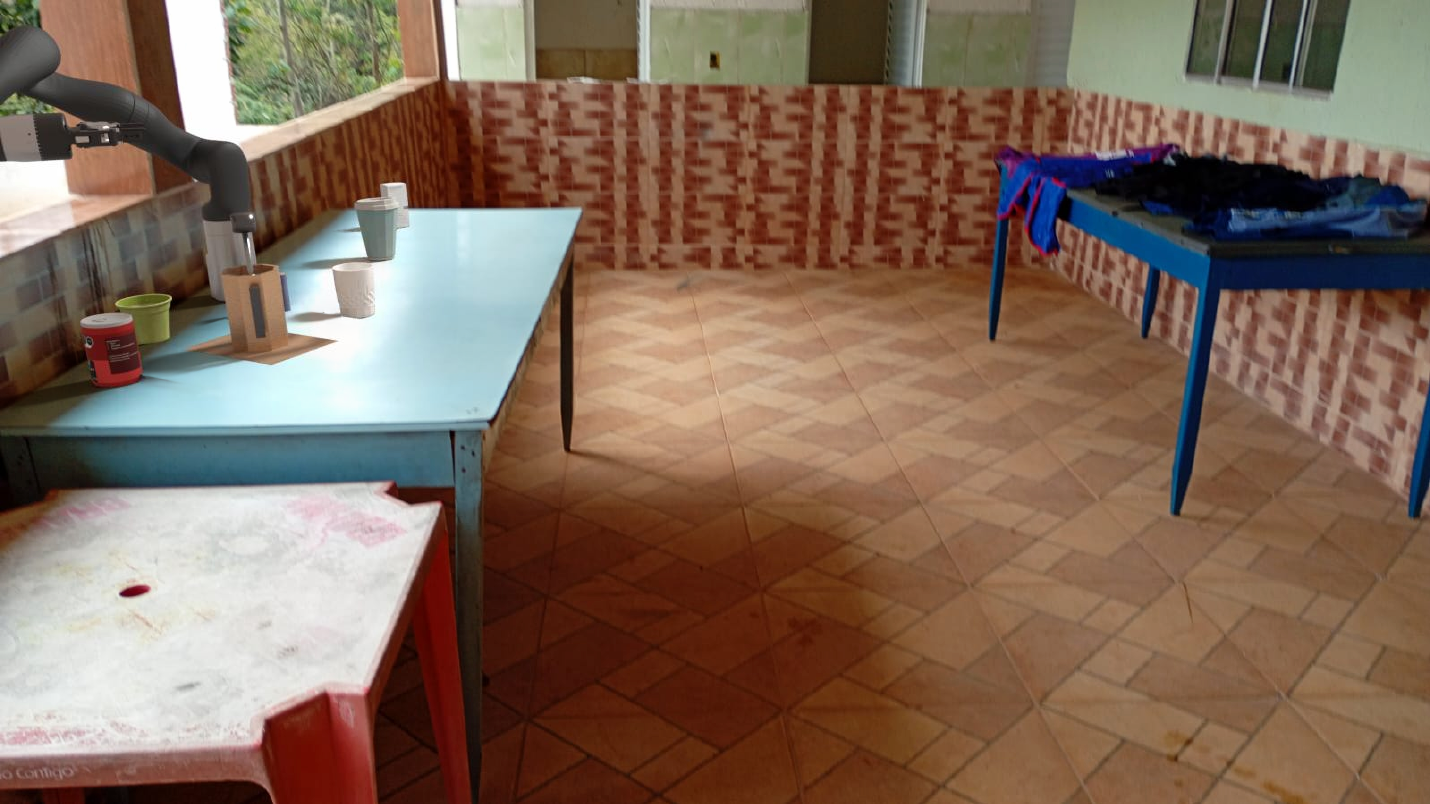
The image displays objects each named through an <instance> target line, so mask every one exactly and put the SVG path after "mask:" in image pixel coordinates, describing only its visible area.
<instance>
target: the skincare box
mask: <svg viewBox="0 0 1430 804" xmlns="http://www.w3.org/2000/svg"><path fill="white" fill-rule="evenodd" d="M379 187H380V188H379V189H380V197H396V201H397V202H398V203H399V206H400V207H398V218H397V229H400V228H401V229H402V228H408V227H410V226H411V223H410V215H409V213H410V212H409V204H408V191H407V184H406V183H404V182H399V181H398V182H388V183H380V184H379Z"/></svg>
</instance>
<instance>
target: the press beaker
mask: <svg viewBox="0 0 1430 804" xmlns="http://www.w3.org/2000/svg"><path fill="white" fill-rule="evenodd" d="M253 271H254V274H252V275H248V271H247V265H239V266H235V267H231V268H227V269H223V271H222V274H221V276H222V282H223V288H224V295H225V301H224V302H225V306H226V312H227V313H226V314H227V319H228V325H229V331H230V333H229V334H231V339H232V346H233V350H234V351H240V352H246V353H255V352H265V351H273V350H276V349H279V348H282V347H285V346H287V345H288V344H289V337H288V333H289V331H288V325H287V318H286V312H285V309H284V302H283V294H282V287H281V280H280V273H279V272H280V267H279V265H277V264H268V263H256V264H253Z"/></svg>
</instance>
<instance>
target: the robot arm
mask: <svg viewBox="0 0 1430 804" xmlns="http://www.w3.org/2000/svg"><path fill="white" fill-rule="evenodd" d="M61 59H62V53H61V51H60V48H59V45H58V43H57V42H56V40H55V39H54V37H52V36H51V35H50V33H48V32H47V31H46V30H44V29H42V28H41V27H38V26H36V25H31V24H22V25H18V26H14V27H13V28H11V29H9V30H8V31H6V32H4V33H3V34H1V35H0V106H2V104H4V103H5V102H6V101H7V100H9V99H10V98H11V97H12V96H13V95H15V94H16V93H17V94H19V95H22V96H25V97H27V98H30V99H32V100H35V101H37V102H40V103H42V104H45V105H48V106H50V107H53V108H55V109H58V110H60V111H62V112H43V113H40V112H39V113H20V114H19V113H18V114H8V115H3V116H0V163H4V162H5V163H6V162H17V163H31V162H48V161H53V162H54V161H64V160H65V161H67V160H68V161H69V160H72V158H73V153H74V152H73V147H72V145H73V146H74V145H75V146H76V148H78V149H94V148H108V147H116V146H120V145H123V144H124V143H125V144H129V145H130V146H133V147H135V148H138V149H140V150H142V151H143V152H147V153H148V154H152V155H154V156H156V157H159V158H160V159H162V160H164V161H166V162H168V163H169V164H171V165H172V166H174V167H175V168H176V169H178V170H179V171H181V172H183V173H185V174H186V175H187V176H189V177H190V178H193V180H195V181H198V182H199V183H202V184H204V185H205V184H206V185H209V188H210V198H209V199H210V200H209V201H208V202H206V203H204V204H203V205H202V206H201V211H200V212H201V217H202V218H201V219H202V222H203V223H202V224H203V229H204V236H205V242H206V248H207V253H206V254H205V262H206V268H207V273H208V274H207V275H208V281H209V286H210V293H211V298H214V299H215V300H216V301H220V302H226V301H225V295H224V288H223V282H222V276H221V274H222V271H223V269H227V268H231V267H235V266H239V265H247V264H246V258H245V251H244V244H243V238H242V233H233V232H232V226H231V219H230V214H233V213H239V212H250V205H251V201H252V200H251V199H252V194H251V186H250V185H251V184H250V174H249V165H248V161H247V156H246V155H245V152H244V151H243V149H242V148H241V147H240V146H239V145H238V144H236V143H235V142H232V141H229V140H228V141H227V140H217V139H216V140H215V139H206V138H203V137H200V136H198V135H196V134H193V133H191V132H188V131H186V130H184V129H182V128H180V127H178V126H176V125H175V124H173V122H171V121H170V120H169V119H168V118H167V117H166V116H165V114H164V113H163V112H162V111H161V110H160V109H159V108H158V107H157V106H155V105H154V104H153V103H151V102H150V101H148V99H145V98H143V97H141V95H138V94H136V93H135V92H132V91H130V90H129V89H127V88H124V87H123V86H120V85H117V84H113V83H108V82H104V81H98V80H97V81H96V80H92V79H91V80H90V79H84V78H78V77H71V76H68V75H65V74H62V73H60V72H57V70H58V69H59V67H60V64H61V61H62V60H61ZM63 112H64V113H66V114H68V115H71V116H73V117H74V118H77V119H79V120H81V121H80V122H79V123H76V124H75V126H69V125H68V121H67V118H66V115H65V114H64V113H63ZM248 237H249V244H250V250H251V257H252V264H257V258H256V257H257V256H256V252H255V244H254V238H253V237H254V236H253V232H249V233H248Z"/></svg>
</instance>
